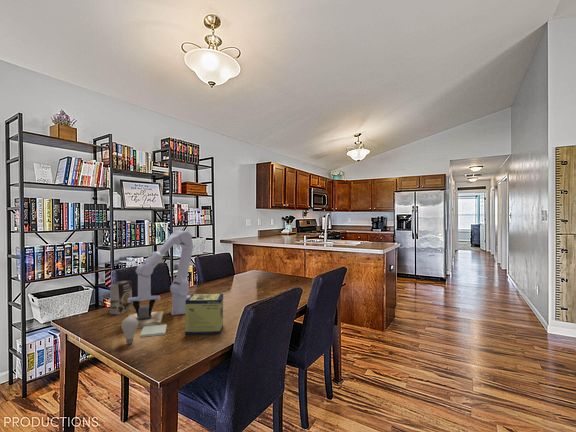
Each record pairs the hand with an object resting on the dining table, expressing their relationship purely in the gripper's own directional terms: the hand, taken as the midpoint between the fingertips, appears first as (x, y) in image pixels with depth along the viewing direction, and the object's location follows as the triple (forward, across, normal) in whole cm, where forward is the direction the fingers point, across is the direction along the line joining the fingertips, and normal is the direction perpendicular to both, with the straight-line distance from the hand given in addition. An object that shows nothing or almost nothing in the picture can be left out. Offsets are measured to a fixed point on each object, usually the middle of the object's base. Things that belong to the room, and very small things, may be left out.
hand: (144, 315), depth 150 cm
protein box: (+3, +28, -20) cm, 35 cm away
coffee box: (+3, -14, +20) cm, 25 cm away
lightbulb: (+3, -2, -26) cm, 26 cm away
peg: (+3, 0, 0) cm, 3 cm away
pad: (+3, +6, -15) cm, 16 cm away
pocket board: (+3, 0, 0) cm, 3 cm away
